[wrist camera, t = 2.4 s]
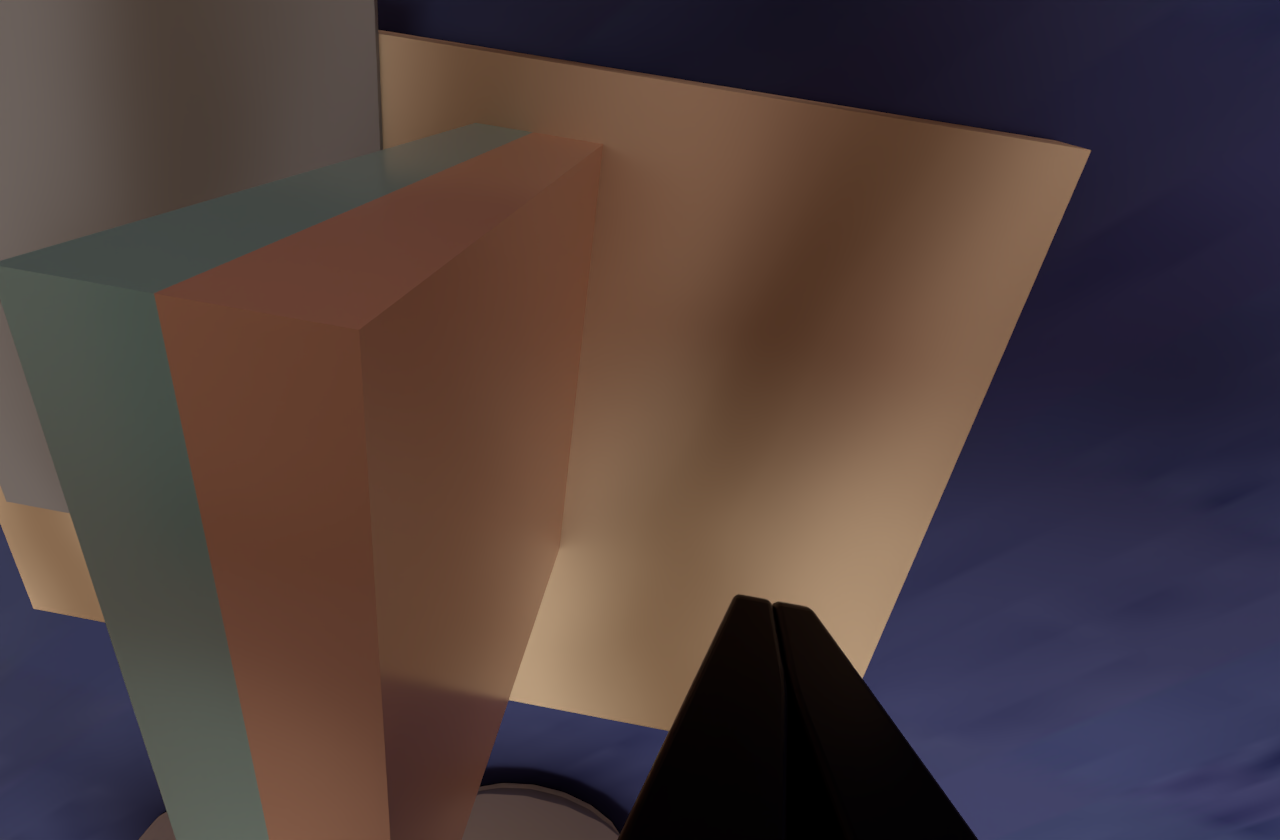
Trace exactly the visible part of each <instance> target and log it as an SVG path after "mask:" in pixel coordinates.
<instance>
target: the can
mask: <svg viewBox="0 0 1280 840" xmlns="http://www.w3.org/2000/svg"><path fill="white" fill-rule="evenodd" d="M619 835H620V834H619V832H618V831H617V829H616V828H615V826H614V825H613V823H612V822H611V821H610V820H609V819H608V818H606V817H605V816H604V815H603V814H601V813H600V812H599V811H598V810H596V809H595V808H594V807H593V806H591V805H590V804H588V803H586V802H584V801H581V800H579V799H577V798H575V797H573V796H571V795H569V794H567V793H565V792H562V791H558V790H554V789H550V788H546V787H542V786H538V785H534V784H517V783H499V784H493V785H487V786H481V787H479V790H478V793H477V796H476V799H475V802H474V805H473V808H472V811H471V814H470V816H469V819H468V822H467V825H466V828H465V831H464V834H463V837H462V840H617V839H618V837H619Z"/></svg>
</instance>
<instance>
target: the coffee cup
mask: <svg viewBox="0 0 1280 840" xmlns="http://www.w3.org/2000/svg"><path fill="white" fill-rule="evenodd" d="M139 840H176V838H175V835H174V832H173V829H172V826H171V823H170V820H169V817H168V814H167V812H165V813H164V814H162V815H160V816H159V817H158V818H157V819H156V820H155V821H154V822H153V823H152V824H151V825H150V827H149V828H148V829H147V830H146V831H145V833H144V834H143V835H142V836H141V837H140V838H139Z"/></svg>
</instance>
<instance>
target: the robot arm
mask: <svg viewBox="0 0 1280 840" xmlns="http://www.w3.org/2000/svg"><path fill="white" fill-rule="evenodd" d="M617 840H978V839H977V837H976V836H975V835H974V833H973V832H972V830H971V829H970V828H969V826H968V825H967V823H966V822H965V821H964V819H963V818H962V816H961V815H960V814H959V812H958V811H957V810H956V808H955V807H954V805H953V804H952V803H951V801H950V800H949V798H948V797H947V796H946V794H945V793H944V791H943V790H942V789H941V787H940V786H939V784H938V783H937V782H936V780H935V779H934V778H933V776H932V775H931V773H930V772H929V771H928V769H927V768H926V766H925V765H924V764H923V762H922V761H921V759H920V758H919V757H918V755H917V754H916V753H915V751H914V750H913V748H912V747H911V746H910V744H909V743H908V741H907V740H906V739H905V737H904V736H903V734H902V733H901V732H900V730H899V729H898V728H897V726H896V725H895V723H894V722H893V721H892V719H891V718H890V716H889V715H888V714H887V712H886V711H885V709H884V708H883V707H882V705H881V704H880V703H879V701H878V700H877V698H876V697H875V696H874V694H873V693H872V691H871V690H870V689H869V687H868V686H867V684H866V683H865V682H864V680H863V679H862V678H861V676H860V675H859V673H858V672H857V671H856V669H855V668H854V666H853V665H852V664H851V662H850V661H849V659H848V658H847V657H846V655H845V654H844V653H843V651H842V650H841V648H840V647H839V646H838V644H837V643H836V641H835V640H834V639H833V637H832V636H831V634H830V633H829V632H828V630H827V629H826V628H825V626H824V625H823V623H822V622H821V621H820V619H819V618H818V616H817V615H816V614H815V612H814V611H813V610H812V609H810V608H809V607H806V606H802V605H797V604H791V603H786V602H780V601H777V602H775V603H773V604H772V603H771V602H770V601H769V600H767V599H764V598H759V597H753V596H748V595H742V594H737V595H735V596H734V597H733V599H732V601H731V603H730V605H729V607H728V609H727V611H726V613H725V615H724V617H723V620H722V622H721V624H720V626H719V628H718V630H717V632H716V634H715V636H714V638H713V640H712V643H711V645H710V647H709V649H708V651H707V653H706V655H705V657H704V659H703V661H702V663H701V666H700V668H699V670H698V672H697V674H696V676H695V678H694V680H693V682H692V684H691V686H690V689H689V691H688V693H687V695H686V697H685V699H684V701H683V703H682V705H681V707H680V709H679V712H678V714H677V716H676V718H675V720H674V722H673V724H672V726H671V728H670V730H669V732H668V735H667V737H666V739H665V741H664V743H663V745H662V747H661V749H660V751H659V753H658V755H657V758H656V760H655V762H654V764H653V766H652V768H651V770H650V772H649V774H648V776H647V779H646V781H645V783H644V785H643V787H642V789H641V791H640V793H639V795H638V797H637V799H636V802H635V804H634V806H633V808H632V810H631V812H630V814H629V816H628V818H627V820H626V822H625V825H624V827H623V829H622V831H621V833H620V835H619V837H618V839H617Z"/></svg>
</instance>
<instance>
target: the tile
mask: <svg viewBox="0 0 1280 840" xmlns="http://www.w3.org/2000/svg"><path fill="white" fill-rule="evenodd" d="M602 152H603V144H600V143H594V142H588V141H582V140H576V139H570V138H564V137H558V136H552V135H547V134H541V133H535V132H529V131H523V130H517V129H511V128H505V127H499V126H493V125H487V124H481V123H473V124H470V125H466V126H463V127H459V128H456V129H453V130H449V131H446V132H442V133H439V134H435V135H432V136H428V137H425V138H422V139H418V140H415V141H411V142H408V143H404V144H401V145H397V146H394V147H391V148H387V149H384V150H380V151H377V152H373V153H370V154H366V155H363V156H360V157H356V158H353V159H349V160H346V161H342V162H339V163H335V164H332V165H329V166H325V167H322V168H318V169H315V170H311V171H308V172H304V173H301V174H298V175H294V176H291V177H287V178H284V179H280V180H277V181H273V182H270V183H267V184H263V185H260V186H256V187H253V188H249V189H246V190H242V191H239V192H235V193H232V194H229V195H225V196H222V197H218V198H215V199H211V200H208V201H204V202H201V203H198V204H194V205H191V206H187V207H184V208H180V209H177V210H173V211H170V212H167V213H163V214H160V215H156V216H153V217H149V218H146V219H142V220H139V221H136V222H132V223H129V224H125V225H122V226H118V227H115V228H111V229H108V230H105V231H101V232H98V233H94V234H91V235H87V236H84V237H80V238H77V239H74V240H70V241H67V242H63V243H60V244H56V245H53V246H49V247H46V248H43V249H39V250H36V251H32V252H29V253H25V254H22V255H18V256H15V257H12V258H8V259H5V260H1V261H0V300H1V303H2V306H3V310H4V313H5V316H6V319H7V322H8V325H9V328H10V331H11V334H12V337H13V340H14V343H15V346H16V349H17V353H18V356H19V359H20V362H21V365H22V368H23V371H24V374H25V377H26V380H27V383H28V386H29V389H30V393H31V396H32V399H33V402H34V405H35V408H36V411H37V414H38V417H39V420H40V423H41V426H42V429H43V432H44V436H45V439H46V442H47V445H48V448H49V451H50V454H51V457H52V460H53V463H54V466H55V469H56V472H57V476H58V479H59V482H60V485H61V488H62V491H63V494H64V497H65V500H66V503H67V506H68V509H69V512H70V515H71V519H72V522H73V525H74V528H75V531H76V534H77V537H78V540H79V543H80V546H81V549H82V552H83V555H84V559H85V562H86V565H87V568H88V571H89V574H90V577H91V580H92V583H93V586H94V589H95V592H96V595H97V598H98V602H99V605H100V608H101V611H102V614H103V617H104V620H105V623H106V626H107V629H108V632H109V635H110V638H111V642H112V645H113V648H114V651H115V654H116V657H117V660H118V663H119V666H120V669H121V672H122V675H123V678H124V681H125V685H126V688H127V691H128V694H129V697H130V700H131V703H132V706H133V709H134V712H135V715H136V718H137V721H138V725H139V728H140V731H141V734H142V737H143V740H144V743H145V746H146V749H147V752H148V755H149V758H150V761H151V764H152V768H153V771H154V774H155V777H156V780H157V783H158V786H159V789H160V792H161V795H162V798H163V801H164V804H165V808H166V811H167V814H168V817H169V820H170V823H171V826H172V829H173V832H174V835H175V838H176V840H462V837H463V834H464V831H465V828H466V825H467V822H468V819H469V816H470V814H471V811H472V808H473V805H474V802H475V799H476V796H477V793H478V790H479V787H480V784H481V781H482V778H483V775H484V772H485V769H486V766H487V763H488V760H489V757H490V754H491V751H492V748H493V745H494V742H495V739H496V736H497V733H498V730H499V727H500V724H501V721H502V718H503V715H504V712H505V709H506V706H507V703H508V700H509V697H510V695H511V692H512V689H513V686H514V683H515V680H516V677H517V674H518V671H519V668H520V665H521V662H522V659H523V656H524V653H525V650H526V647H527V644H528V641H529V638H530V635H531V632H532V629H533V626H534V623H535V620H536V617H537V614H538V611H539V608H540V605H541V602H542V599H543V596H544V593H545V590H546V587H547V584H548V581H549V578H550V576H551V573H552V570H553V567H554V564H555V561H556V558H557V555H558V552H559V549H560V541H561V531H562V522H563V513H564V504H565V494H566V485H567V476H568V467H569V457H570V448H571V439H572V430H573V420H574V411H575V402H576V393H577V383H578V374H579V365H580V356H581V346H582V337H583V328H584V319H585V309H586V300H587V291H588V282H589V272H590V263H591V254H592V245H593V235H594V226H595V217H596V208H597V198H598V189H599V180H600V171H601V161H602Z"/></svg>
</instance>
